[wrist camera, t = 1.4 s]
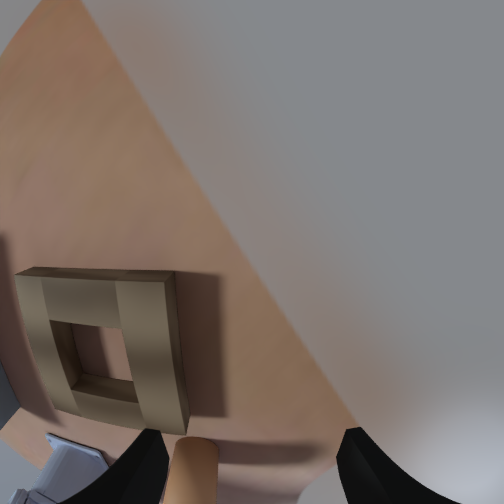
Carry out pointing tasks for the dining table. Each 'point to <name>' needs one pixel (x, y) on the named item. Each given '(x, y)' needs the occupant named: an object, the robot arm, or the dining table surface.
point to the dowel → (193, 472)
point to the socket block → (135, 338)
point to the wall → (6, 399)
